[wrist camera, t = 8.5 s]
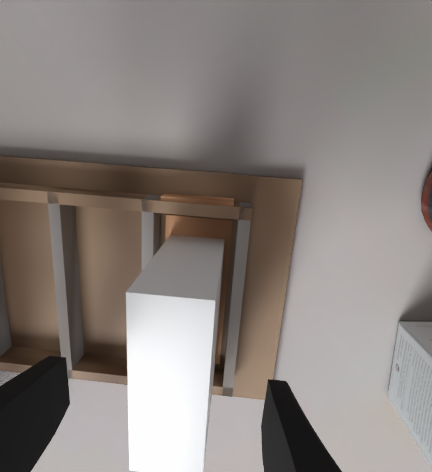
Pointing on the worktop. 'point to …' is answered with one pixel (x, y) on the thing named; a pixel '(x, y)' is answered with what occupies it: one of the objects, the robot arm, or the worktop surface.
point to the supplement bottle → (427, 201)
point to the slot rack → (136, 262)
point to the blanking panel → (173, 354)
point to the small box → (414, 382)
